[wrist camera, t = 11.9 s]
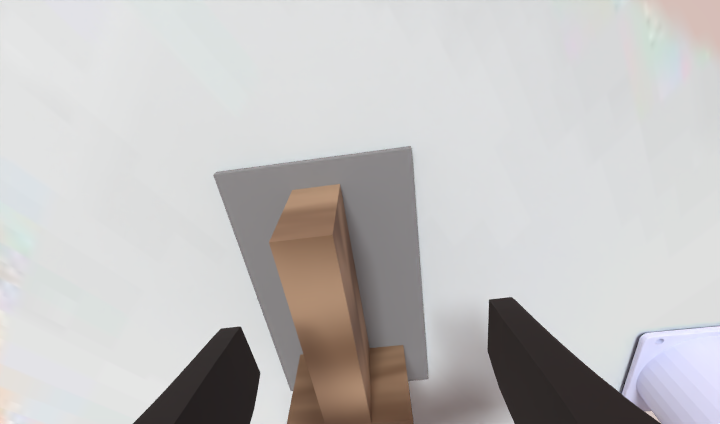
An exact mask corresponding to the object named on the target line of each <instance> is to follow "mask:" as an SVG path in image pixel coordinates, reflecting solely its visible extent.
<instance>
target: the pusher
mask: <svg viewBox="0 0 720 424" xmlns="http://www.w3.org/2000/svg"><path fill="white" fill-rule="evenodd" d="M269 244H270V248H271V251H272V254H273V257H274V261H275V264H276V267H277V270H278V273H279V277H280V280H281V283H282V286H283V290H284V293H285V296H286V299H287V303H288V306H289V309H290V312H291V316H292V319H293V322H294V325H295V328H296V332H297V335H298V338H299V341H300V345H301V348H302V351H303V354H302V355H300V358H299V364H298V369H297V374H296V379H295V384H294V390H293V395H292V400H291V405H290V410H289V415H288V421H287V424H413V416H412V408H411V401H410V393H409V385H408V378H407V370H406V362H405V355H404V347H403V345H398V346H387V347H377V348H370V347H369V342H368V336H367V331H366V325H365V320H364V314H363V308H362V303H361V297H360V292H359V286H358V281H357V275H356V270H355V264H354V259H353V253H352V247H351V242H350V236H349V231H348V225H347V220H346V214H345V209H344V203H343V198H342V192H341V186H340V184H336V185H328V186H320V187H312V188H304V189H296V190H292V192H291V194H290V196H289V198H288V201H287V203H286V205H285V207H284V210H283V212H282V214H281V216H280V219H279V221H278V223H277V225H276V228H275V230H274V232H273V234H272V237H271V239H270V241H269Z"/></svg>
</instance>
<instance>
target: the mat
mask: <svg viewBox="0 0 720 424" xmlns="http://www.w3.org/2000/svg"><path fill="white" fill-rule="evenodd" d="M214 178H215V181H216V184H217V186H218V189H219V192H220V195H221V197H222V200H223V203H224V206H225V209H226V211H227V214H228V217H229V220H230V223H231V225H232V228H233V231H234V234H235V237H236V239H237V242H238V245H239V248H240V250H241V253H242V256H243V259H244V262H245V264H246V267H247V270H248V273H249V276H250V278H251V281H252V284H253V287H254V290H255V292H256V295H257V298H258V301H259V304H260V306H261V309H262V312H263V315H264V317H265V320H266V323H267V326H268V329H269V331H270V334H271V337H272V340H273V343H274V345H275V348H276V351H277V354H278V357H279V359H280V362H281V365H282V368H283V370H284V373H285V376H286V379H287V382H288V384H289V387H290V390H291V391H293V390H294V384H295V379H296V374H297V369H298V364H299V358H300V355H302V354H303V351H302V348H301V345H300V341H299V338H298V335H297V332H296V328H295V325H294V322H293V319H292V316H291V312H290V309H289V306H288V303H287V299H286V296H285V293H284V290H283V286H282V283H281V280H280V277H279V273H278V270H277V267H276V264H275V261H274V257H273V254H272V251H271V248H270V244H269V241H270V239H271V237H272V234H273V232H274V230H275V228H276V225H277V223H278V221H279V219H280V216H281V214H282V212H283V210H284V207H285V205H286V203H287V201H288V198H289V196H290V194H291V192H292V190H296V189H304V188H312V187H320V186H328V185H336V184H340V186H341V192H342V198H343V203H344V209H345V214H346V220H347V225H348V231H349V236H350V242H351V247H352V253H353V259H354V264H355V270H356V275H357V281H358V286H359V292H360V297H361V303H362V308H363V314H364V320H365V325H366V331H367V336H368V342H369V347H370V348H377V347H387V346H398V345H403V347H404V355H405V362H406V370H407V378H408V381H413V380H424V379H428V368H427V354H426V340H425V326H424V313H423V299H422V285H421V271H420V258H419V244H418V230H417V217H416V203H415V189H414V175H413V162H412V149H411V146H409V147H401V148H394V149H386V150H379V151H371V152H364V153H356V154H349V155H341V156H334V157H326V158H319V159H311V160H304V161H296V162H289V163H281V164H274V165H266V166H259V167H251V168H244V169H236V170H229V171H221V172H216V173H215V174H214Z"/></svg>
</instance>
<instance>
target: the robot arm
mask: <svg viewBox="0 0 720 424" xmlns="http://www.w3.org/2000/svg"><path fill="white" fill-rule="evenodd" d="M488 354H489V357H490V360H491V363H492V367H493V370H494V373H495V376H496V379H497V382H498V385H499V388H500V391H501V393H502V395H503V398H504V400H505V402H506V404H507V407H508V409H509V411H510V414H511V416H512V418H513V421H514V423H515V424H720V326H716V327H705V328H694V329H683V330H672V331H661V332H650V333H645V334H643V335H642V336H641V337H640V339H639V342H638V346H637V349H636V352H635V355H634V358H633V361H632V364H631V367H630V370H629V373H628V376H627V379H626V382H625V385H624V388H623V392H622V394H621V393H619V392H618V391H617V390H616V389H614V388H613V387H612V386H611V385H609V384H608V383H607V382H606V381H605V380H603V379H602V378H601V377H600V376H598V375H597V374H596V373H595V372H594V371H592V370H591V369H590V368H589V367H588V366H586V365H585V364H584V363H583V362H582V361H581V360H579V359H578V358H577V357H576V356H575V355H574V354H573V353H571V352H570V351H569V350H568V349H567V348H566V347H565V346H563V345H562V344H561V343H560V342H559V341H558V340H557V339H556V338H555V337H553V336H552V335H551V334H550V333H549V332H548V331H547V330H546V329H545V328H544V327H543V326H542V325H541V324H540V323H538V322H537V321H536V320H535V319H534V318H533V317H532V316H531V315H530V314H529V313H528V312H527V311H526V310H525V309H524V308H523V307H522V306H521V305H520V304H519V303H518V302H517V301H516V300H514V299H513V298H512V297H509V298H500V299H491V300H489V323H488ZM259 378H260V371H259V369H258V366H257V364H256V362H255V359H254V357H253V355H252V352H251V350H250V347H249V345H248V343H247V340H246V338H245V336H244V333H243V331H242V328H241V327H232V328H223V329H220V330H219V331H218V332H217V333H216V335H215V336H214V337H213V338H212V339H211V340H210V341H209V342H208V343H207V344H206V346H205V347H204V348H203V349H202V350H201V351H200V352H199V353H198V355H197V356H196V357H195V358H194V359H193V360H192V361H191V362H190V364H189V365H188V366H187V367H186V368H185V369H184V370H183V371H182V372H181V374H180V375H179V376H178V377H177V378H176V379H175V380H174V381H173V382H172V383H171V385H170V386H169V387H168V388H167V389H166V390H165V391H164V392H163V393H162V394H161V395H160V397H159V398H158V399H157V400H156V401H155V402H154V403H153V404H152V405H151V406H150V407H149V408H148V409H147V410H146V411H145V412H144V413H143V414H142V415H141V416H140V417H139V418H138V419H137V420H136V421H135V422H134V423H133V424H250V421H251V418H252V414H253V411H254V406H255V401H256V396H257V390H258V384H259ZM644 411H652V412H653V413H654V414H655V416H656V417H657V418H658V420H659V421H660V422H661V423H659V422H658V421H656V420H655V419H654V418H652V417H651V416H649V415H648V414H647V413H646V412H644Z"/></svg>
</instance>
